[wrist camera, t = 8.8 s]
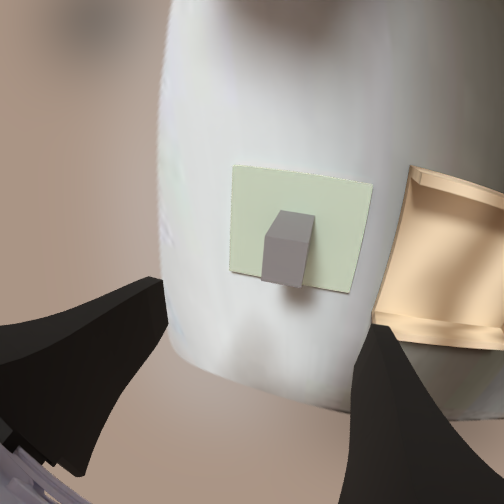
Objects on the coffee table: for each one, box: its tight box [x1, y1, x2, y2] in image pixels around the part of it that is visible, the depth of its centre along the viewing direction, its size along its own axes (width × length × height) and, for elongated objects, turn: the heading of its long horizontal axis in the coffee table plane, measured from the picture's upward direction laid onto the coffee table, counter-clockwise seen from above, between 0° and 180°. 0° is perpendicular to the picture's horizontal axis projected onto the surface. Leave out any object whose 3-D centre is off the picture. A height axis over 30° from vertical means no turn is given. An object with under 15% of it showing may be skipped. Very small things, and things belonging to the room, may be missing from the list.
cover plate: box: [229, 165, 373, 293], centre depth 16 cm, size 8×7×5 cm
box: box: [372, 165, 504, 350], centre depth 14 cm, size 12×10×2 cm
